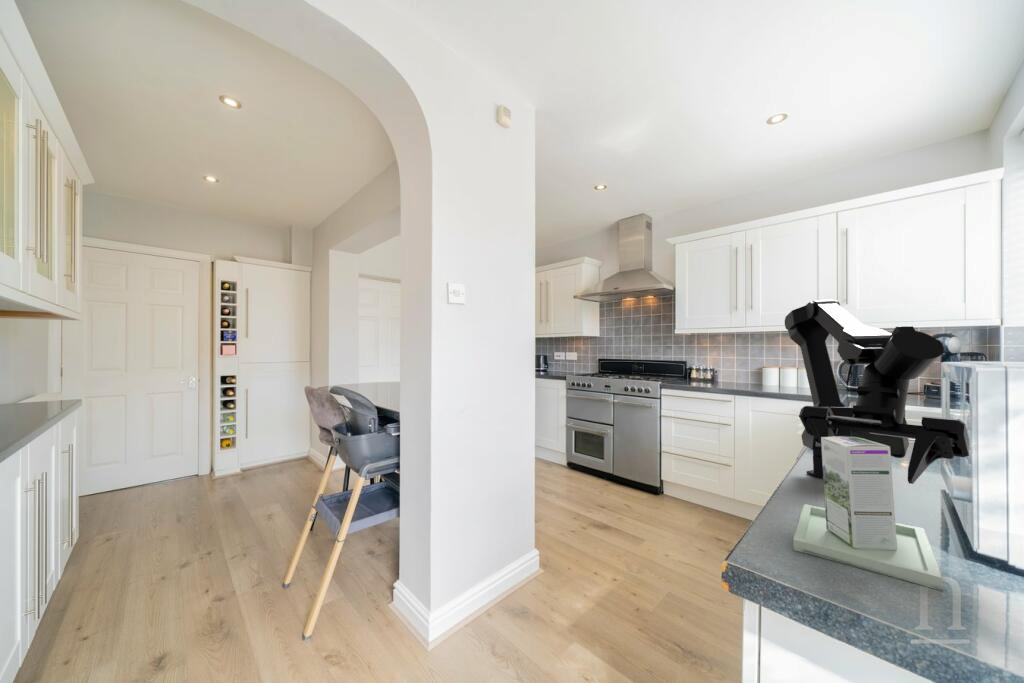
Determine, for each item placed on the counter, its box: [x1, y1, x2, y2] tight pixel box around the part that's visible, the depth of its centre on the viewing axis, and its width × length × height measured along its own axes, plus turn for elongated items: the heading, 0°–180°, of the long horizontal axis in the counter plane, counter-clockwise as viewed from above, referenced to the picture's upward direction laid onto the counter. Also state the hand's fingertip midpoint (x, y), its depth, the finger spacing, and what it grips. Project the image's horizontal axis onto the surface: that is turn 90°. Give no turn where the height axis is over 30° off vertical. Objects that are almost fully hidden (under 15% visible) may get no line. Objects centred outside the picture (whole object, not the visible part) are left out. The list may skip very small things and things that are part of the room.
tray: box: [792, 503, 944, 591], centre depth 54 cm, size 16×14×2 cm
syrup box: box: [821, 436, 897, 551], centre depth 54 cm, size 6×6×14 cm
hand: (866, 473), depth 56 cm, fingers open, 9 cm apart
